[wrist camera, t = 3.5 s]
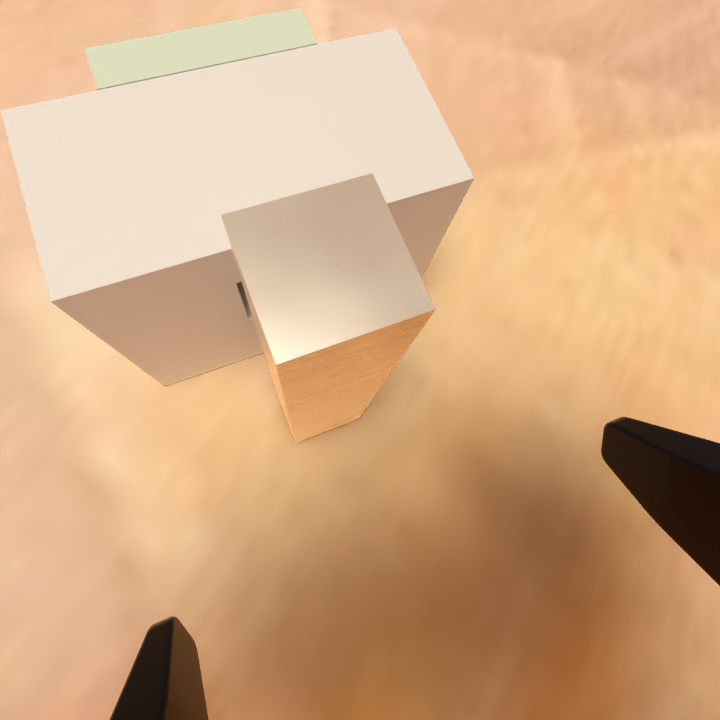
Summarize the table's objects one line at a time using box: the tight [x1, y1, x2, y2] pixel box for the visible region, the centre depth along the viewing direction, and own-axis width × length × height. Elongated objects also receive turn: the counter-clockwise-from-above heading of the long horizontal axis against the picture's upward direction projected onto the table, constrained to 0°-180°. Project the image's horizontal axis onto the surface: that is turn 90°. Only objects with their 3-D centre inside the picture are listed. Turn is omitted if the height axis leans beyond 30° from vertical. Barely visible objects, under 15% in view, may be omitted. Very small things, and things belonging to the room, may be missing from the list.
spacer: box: [84, 7, 317, 90], centre depth 18 cm, size 2×7×7 cm, turn 112°
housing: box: [1, 28, 474, 386], centre depth 18 cm, size 6×12×10 cm, turn 112°
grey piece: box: [221, 173, 435, 443], centre depth 16 cm, size 15×3×13 cm, turn 22°
